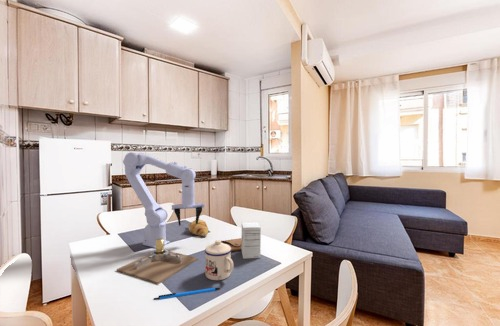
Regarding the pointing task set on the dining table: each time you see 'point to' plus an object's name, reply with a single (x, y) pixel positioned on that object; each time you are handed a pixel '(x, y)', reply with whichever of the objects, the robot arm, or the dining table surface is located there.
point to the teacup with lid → (218, 261)
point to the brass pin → (160, 246)
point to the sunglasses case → (234, 244)
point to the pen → (185, 293)
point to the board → (157, 268)
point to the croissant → (198, 228)
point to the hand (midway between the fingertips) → (188, 224)
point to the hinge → (158, 258)
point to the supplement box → (251, 240)
